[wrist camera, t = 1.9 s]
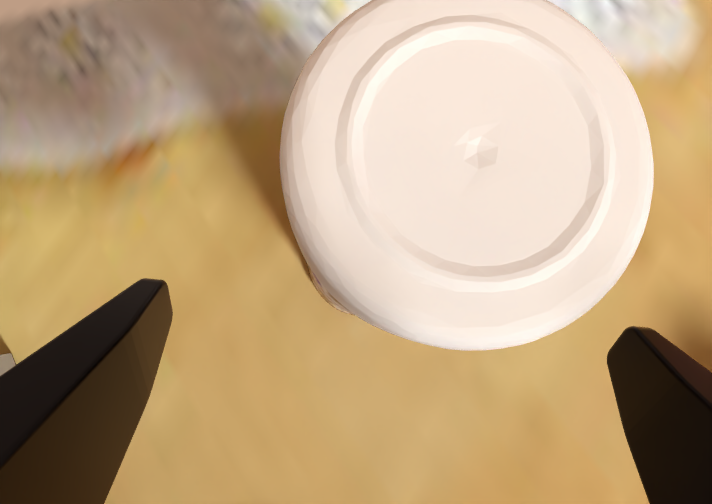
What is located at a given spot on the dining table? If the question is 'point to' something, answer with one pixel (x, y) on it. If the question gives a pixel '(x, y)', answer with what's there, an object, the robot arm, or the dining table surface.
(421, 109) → the sprinkles bottle
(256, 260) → the dining table surface
